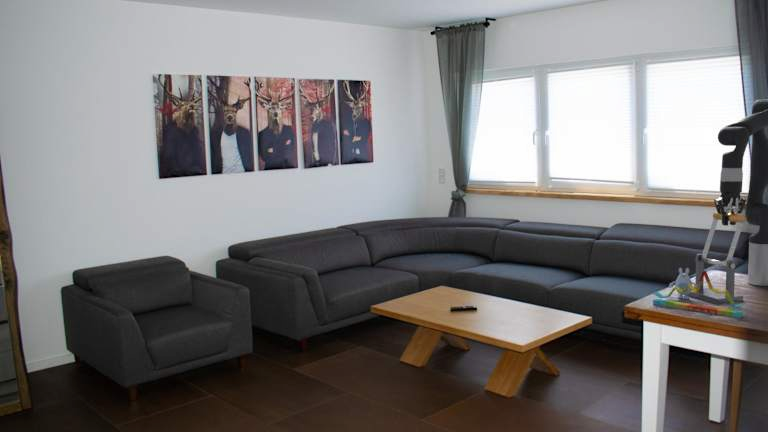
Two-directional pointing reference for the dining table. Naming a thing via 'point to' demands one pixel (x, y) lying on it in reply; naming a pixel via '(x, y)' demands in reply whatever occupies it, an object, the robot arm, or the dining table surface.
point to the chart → (698, 307)
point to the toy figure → (683, 283)
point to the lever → (740, 220)
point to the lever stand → (711, 295)
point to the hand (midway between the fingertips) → (728, 224)
